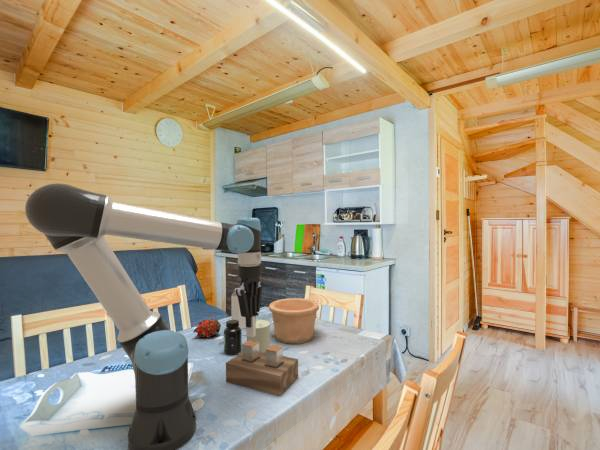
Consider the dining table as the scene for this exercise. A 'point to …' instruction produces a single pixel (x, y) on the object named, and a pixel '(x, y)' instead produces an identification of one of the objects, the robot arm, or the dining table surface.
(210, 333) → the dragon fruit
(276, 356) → the right pin
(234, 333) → the supplement bottle
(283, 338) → the pottery
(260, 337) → the can
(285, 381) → the socket block
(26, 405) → the dining table surface
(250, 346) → the left pin
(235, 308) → the milk carton
